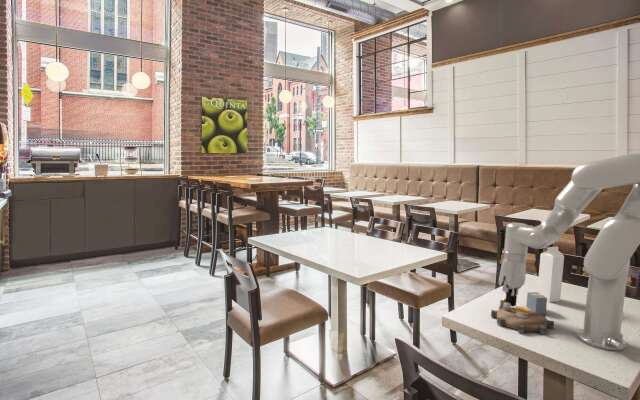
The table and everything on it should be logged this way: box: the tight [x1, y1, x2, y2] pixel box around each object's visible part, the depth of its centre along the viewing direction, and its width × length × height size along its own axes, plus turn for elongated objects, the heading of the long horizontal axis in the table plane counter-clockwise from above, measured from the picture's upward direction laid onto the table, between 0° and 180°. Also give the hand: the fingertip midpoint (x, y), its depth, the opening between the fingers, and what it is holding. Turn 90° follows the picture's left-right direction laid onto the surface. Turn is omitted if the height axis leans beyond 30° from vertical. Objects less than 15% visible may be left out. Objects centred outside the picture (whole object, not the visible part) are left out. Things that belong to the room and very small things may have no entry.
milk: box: [536, 246, 565, 303], centre depth 159 cm, size 6×6×22 cm
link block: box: [525, 291, 548, 314], centre depth 149 cm, size 6×4×6 cm, turn 2°
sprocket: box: [490, 302, 555, 335], centre depth 137 cm, size 20×20×4 cm
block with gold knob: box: [499, 297, 506, 307], centre depth 150 cm, size 2×2×4 cm
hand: (510, 304), depth 144 cm, fingers closed
